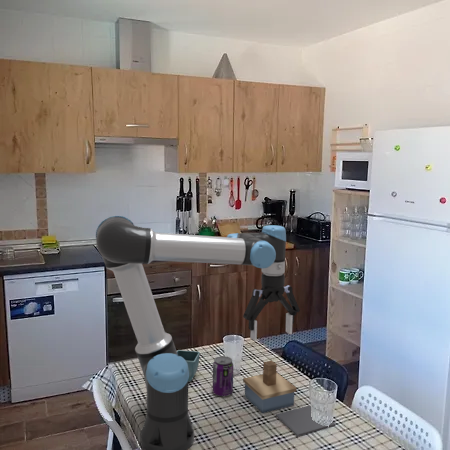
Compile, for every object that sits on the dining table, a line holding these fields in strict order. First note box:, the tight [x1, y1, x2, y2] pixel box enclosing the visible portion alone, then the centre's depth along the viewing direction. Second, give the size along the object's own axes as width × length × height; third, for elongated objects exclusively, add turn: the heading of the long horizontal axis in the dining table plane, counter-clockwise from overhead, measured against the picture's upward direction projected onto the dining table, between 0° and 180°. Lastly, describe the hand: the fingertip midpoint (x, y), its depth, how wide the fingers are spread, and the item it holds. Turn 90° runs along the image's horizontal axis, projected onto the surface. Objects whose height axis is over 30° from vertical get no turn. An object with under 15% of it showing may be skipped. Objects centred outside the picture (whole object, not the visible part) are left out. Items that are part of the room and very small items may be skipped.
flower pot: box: [176, 349, 201, 383], centre depth 165 cm, size 9×9×9 cm
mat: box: [275, 404, 336, 437], centre depth 140 cm, size 14×12×1 cm
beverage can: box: [211, 355, 234, 397], centre depth 155 cm, size 7×7×12 cm
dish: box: [244, 383, 295, 414], centre depth 151 cm, size 12×12×5 cm
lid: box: [242, 360, 297, 400], centre depth 150 cm, size 13×13×8 cm
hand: (271, 336), depth 148 cm, fingers open, 13 cm apart
